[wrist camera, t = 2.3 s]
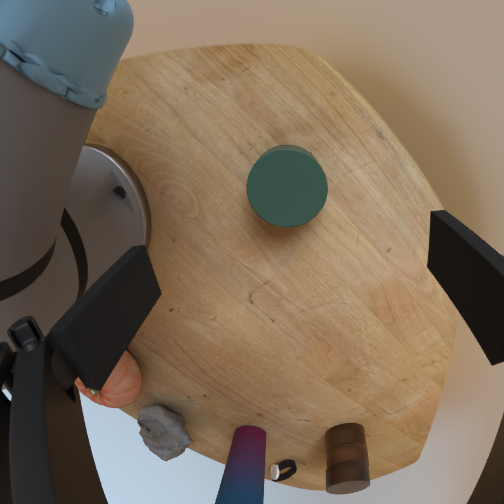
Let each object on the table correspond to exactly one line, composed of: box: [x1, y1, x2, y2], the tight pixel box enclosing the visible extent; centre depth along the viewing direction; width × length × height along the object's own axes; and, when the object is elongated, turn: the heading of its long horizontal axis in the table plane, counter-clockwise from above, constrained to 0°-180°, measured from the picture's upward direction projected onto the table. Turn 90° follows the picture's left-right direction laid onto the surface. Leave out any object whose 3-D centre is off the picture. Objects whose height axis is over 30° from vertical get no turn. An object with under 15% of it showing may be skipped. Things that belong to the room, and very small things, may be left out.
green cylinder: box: [247, 145, 328, 227], centre depth 23 cm, size 6×6×4 cm
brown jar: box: [325, 423, 370, 494], centre depth 35 cm, size 7×7×10 cm
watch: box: [270, 460, 297, 482], centre depth 46 cm, size 8×5×4 cm, turn 164°
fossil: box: [138, 404, 193, 461], centre depth 39 cm, size 11×9×8 cm
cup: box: [215, 426, 266, 504], centre depth 35 cm, size 7×7×15 cm
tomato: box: [74, 350, 142, 408], centre depth 34 cm, size 11×11×8 cm
